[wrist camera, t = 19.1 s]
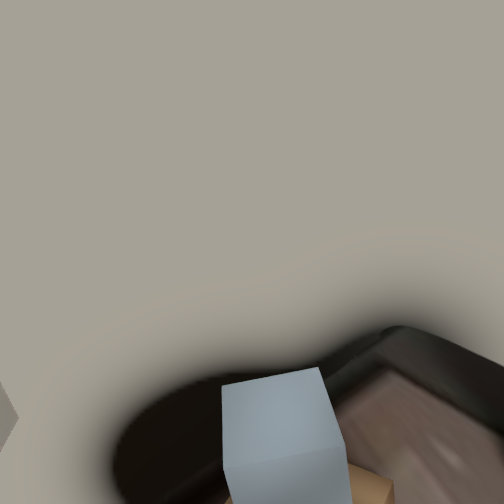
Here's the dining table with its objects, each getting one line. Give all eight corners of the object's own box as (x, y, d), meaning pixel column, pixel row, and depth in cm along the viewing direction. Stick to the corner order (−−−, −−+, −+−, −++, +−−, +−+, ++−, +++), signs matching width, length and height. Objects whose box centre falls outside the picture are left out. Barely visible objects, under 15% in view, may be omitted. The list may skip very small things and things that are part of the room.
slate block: (246, 480, 39) (221, 385, 35) (332, 463, 39) (318, 367, 35) (253, 574, 32) (223, 468, 28) (358, 553, 32) (345, 444, 28)
